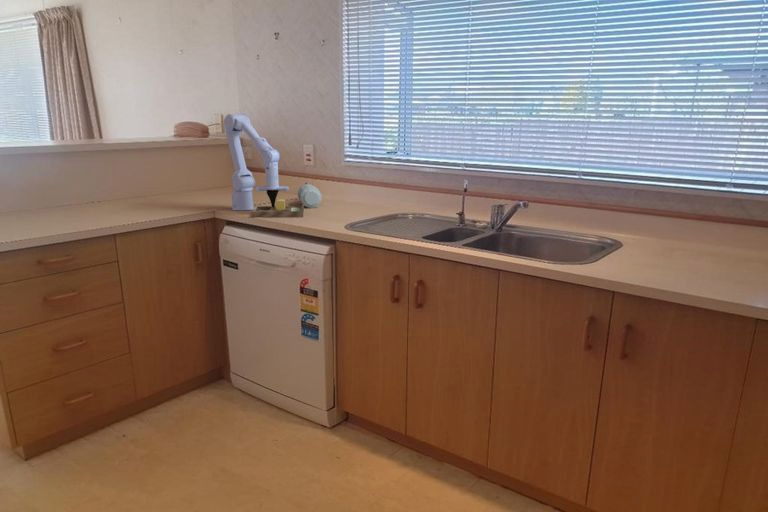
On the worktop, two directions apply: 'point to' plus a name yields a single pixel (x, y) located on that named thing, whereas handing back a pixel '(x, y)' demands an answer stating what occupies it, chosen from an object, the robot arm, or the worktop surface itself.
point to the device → (309, 195)
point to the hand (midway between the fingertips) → (273, 206)
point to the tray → (279, 211)
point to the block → (280, 204)
